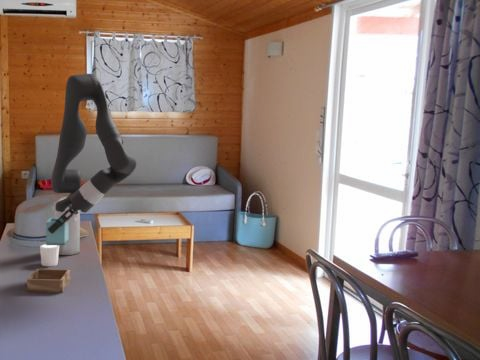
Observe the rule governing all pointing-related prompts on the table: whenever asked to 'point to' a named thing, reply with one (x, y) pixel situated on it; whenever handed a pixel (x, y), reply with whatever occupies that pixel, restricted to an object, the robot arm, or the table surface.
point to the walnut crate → (48, 280)
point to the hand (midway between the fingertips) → (52, 229)
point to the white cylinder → (49, 254)
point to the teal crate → (57, 233)
